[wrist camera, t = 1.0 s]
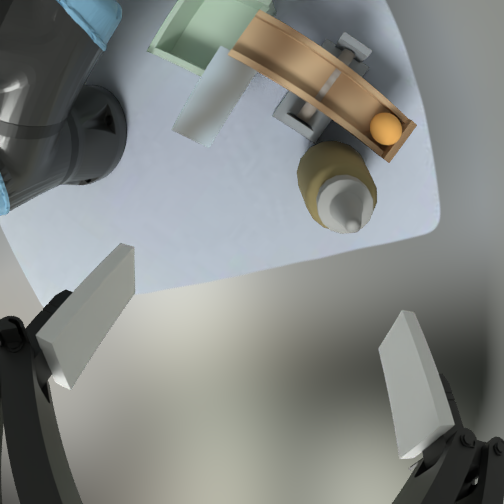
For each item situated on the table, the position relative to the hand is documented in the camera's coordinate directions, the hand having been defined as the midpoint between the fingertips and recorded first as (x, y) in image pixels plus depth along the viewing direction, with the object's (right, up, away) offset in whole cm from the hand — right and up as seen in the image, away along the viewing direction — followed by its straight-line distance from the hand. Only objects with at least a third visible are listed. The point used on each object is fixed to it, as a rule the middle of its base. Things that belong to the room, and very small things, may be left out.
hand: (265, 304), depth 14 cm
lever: (+4, +17, +15) cm, 23 cm away
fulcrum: (+7, +21, +18) cm, 29 cm away
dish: (-5, +29, +16) cm, 33 cm away
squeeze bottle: (+9, +13, +22) cm, 27 cm away
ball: (+12, +14, +11) cm, 22 cm away
